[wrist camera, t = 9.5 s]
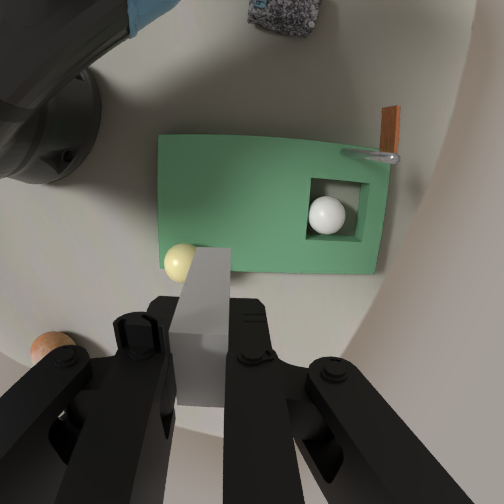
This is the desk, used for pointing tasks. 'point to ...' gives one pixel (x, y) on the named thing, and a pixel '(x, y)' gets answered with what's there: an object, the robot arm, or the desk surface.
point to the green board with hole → (265, 201)
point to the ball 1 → (179, 261)
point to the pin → (382, 139)
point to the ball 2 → (326, 215)
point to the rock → (285, 16)
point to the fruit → (48, 344)
